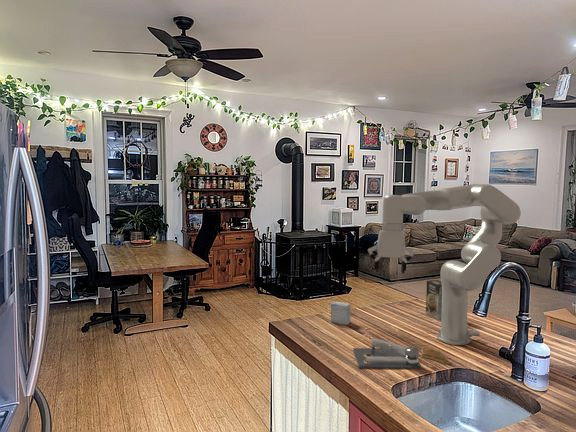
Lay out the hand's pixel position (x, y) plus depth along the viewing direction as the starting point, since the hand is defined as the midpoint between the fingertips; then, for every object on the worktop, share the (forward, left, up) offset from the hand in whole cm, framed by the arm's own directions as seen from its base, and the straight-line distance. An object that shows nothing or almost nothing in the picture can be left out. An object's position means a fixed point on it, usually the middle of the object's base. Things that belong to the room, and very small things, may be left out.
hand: (389, 272), depth 155 cm
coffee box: (-30, -33, -29) cm, 53 cm away
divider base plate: (+4, +13, -28) cm, 32 cm away
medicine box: (+16, -24, -29) cm, 41 cm away
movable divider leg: (+1, +14, -27) cm, 30 cm away
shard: (-15, +11, -29) cm, 35 cm away
